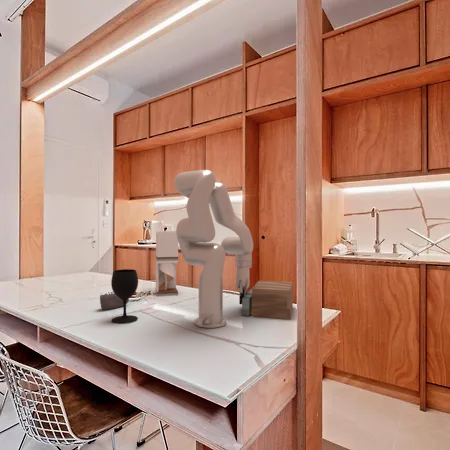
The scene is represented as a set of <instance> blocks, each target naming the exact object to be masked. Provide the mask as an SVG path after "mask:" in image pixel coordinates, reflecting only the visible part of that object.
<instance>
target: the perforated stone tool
mask: <svg viewBox="0 0 450 450" xmlns="http://www.w3.org/2000/svg"><path fill="white" fill-rule="evenodd" d="M129 301H130V298H129V299H127V302H126V305H127V304H128V303H129ZM99 304H100V308H101V310H102V311H103V310H106V311H107V310H113V309H117V308H121V307H124V306H123V300H122V299H120V298H119V297H118V296H116V295H115V293H110V294H100V295H99Z"/></svg>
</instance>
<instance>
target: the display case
mask: <svg viewBox="0 0 450 450" xmlns="http://www.w3.org/2000/svg"><path fill="white" fill-rule="evenodd" d="M178 263H179V242H178V239H177V235H176V230H170V231H169V230H168V231H167V230H165V231H164V230H162V231H161V230H159V231H157V230H156V231H155V295H156V297H167V296H168V297H169V296H179V291H178V289H177V264H178Z"/></svg>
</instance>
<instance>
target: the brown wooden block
mask: <svg viewBox="0 0 450 450" xmlns="http://www.w3.org/2000/svg"><path fill="white" fill-rule="evenodd" d="M293 285H294V282H293V281H282V280H281V281H280V280H261V279H260V280H258V281H257V282H256V283H255V284H254V286H252V287H251V290H252V315H251V317H252V316H253V317H255V318H264V319H278V320H291V317H292V313H293V306H294V305H293V303H294V302H293V300H294V298H293V297H294V296H293V294H294V293H293V292H294V290H293V289H294V287H293Z"/></svg>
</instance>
